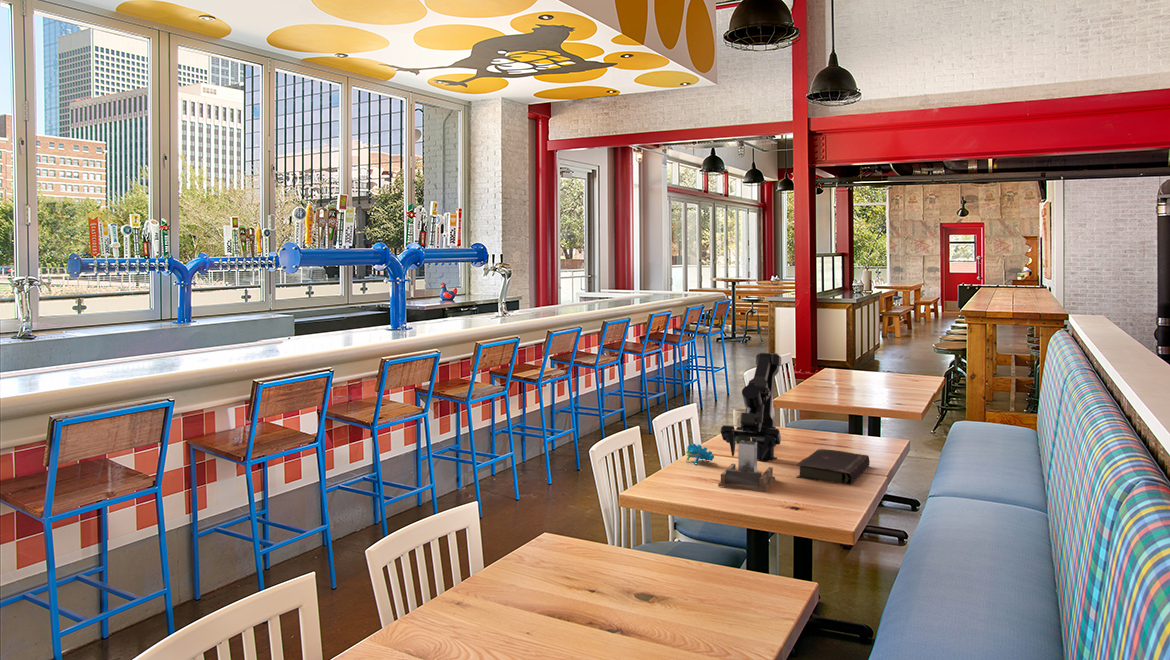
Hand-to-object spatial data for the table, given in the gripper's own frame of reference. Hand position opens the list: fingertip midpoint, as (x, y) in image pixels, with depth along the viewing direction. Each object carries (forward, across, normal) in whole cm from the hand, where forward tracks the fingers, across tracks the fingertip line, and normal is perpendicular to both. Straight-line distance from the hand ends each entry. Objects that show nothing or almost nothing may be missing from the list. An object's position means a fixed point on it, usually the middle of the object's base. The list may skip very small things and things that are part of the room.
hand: (746, 457), depth 244 cm
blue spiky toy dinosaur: (-8, -21, +20) cm, 30 cm away
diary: (-9, +24, +22) cm, 34 cm away
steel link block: (+4, 0, +6) cm, 8 cm away
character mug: (-32, -12, +44) cm, 56 cm away
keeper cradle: (+6, 0, +6) cm, 9 cm away
